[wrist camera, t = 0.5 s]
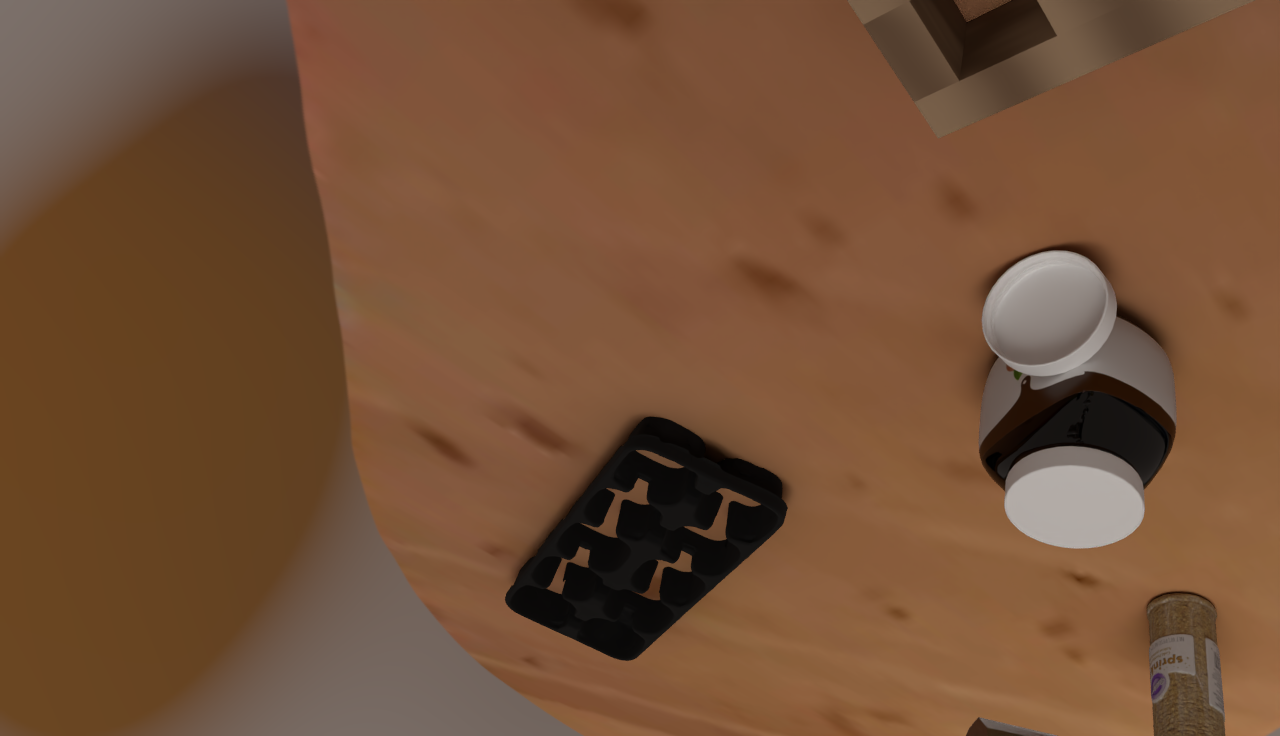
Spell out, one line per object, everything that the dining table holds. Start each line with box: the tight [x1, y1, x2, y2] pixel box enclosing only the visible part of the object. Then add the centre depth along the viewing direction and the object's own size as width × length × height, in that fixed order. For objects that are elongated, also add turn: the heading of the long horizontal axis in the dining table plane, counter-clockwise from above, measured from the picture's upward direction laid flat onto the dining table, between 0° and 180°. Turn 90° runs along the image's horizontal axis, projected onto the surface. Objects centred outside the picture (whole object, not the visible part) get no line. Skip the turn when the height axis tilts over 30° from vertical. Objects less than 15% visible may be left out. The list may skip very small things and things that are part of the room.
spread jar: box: [979, 250, 1176, 548], centre depth 64 cm, size 12×11×12 cm
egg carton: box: [505, 417, 788, 661], centre depth 92 cm, size 18×30×4 cm, turn 167°
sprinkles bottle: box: [1147, 593, 1225, 736], centre depth 79 cm, size 5×5×14 cm
